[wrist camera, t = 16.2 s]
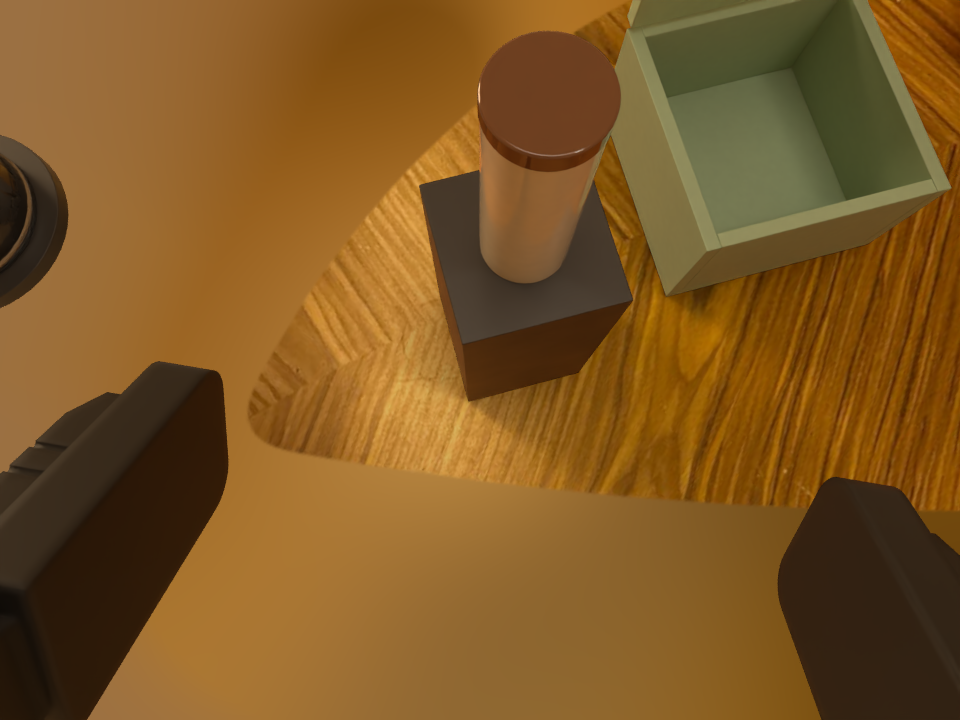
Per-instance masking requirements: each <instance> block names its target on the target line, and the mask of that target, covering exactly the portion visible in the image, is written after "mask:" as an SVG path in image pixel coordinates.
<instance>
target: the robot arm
mask: <svg viewBox="0 0 960 720" xmlns="http://www.w3.org/2000/svg"><path fill="white" fill-rule="evenodd" d="M36 215H37V204H36V197H35V193H34V190H33V187H32V185H31V182H30V181H29V179H28V177H27V176H26V174H25V173H24V172H23V171H22V170H21V169H20V168H19V167H18V166H17V165H16V164H15V163H14V162H12V161H11V160H10V159H8V158H7V157H5V156H4V155H2V154H1V153H0V274H1V273H2V272H4V271H5V270H6V269H7V268H9V267H10V266H11V265H12V264H13V263H14V262H15V261H16V259H17V258H18V257H19V256H20V255H21V253H22V252H23V250H24V249H25V247H26V246H27V244H28V242H29V240H30V238H31V235H32V233H33V230H34V226H35V222H36ZM227 474H228V448H227V434H226V421H225V405H224V392H223V382H222V379H221V376H220V374H219V373H218V372H217V371H214V370H208V369H202V368H196V367H190V366H184V365H178V364H172V363H166V362H160V361H158V362H155V363H153V364H151V365H150V366H149V367H148V368H147V369H146V370H145V371H144V372H143V373H142V374H141V375H140V376H139V377H138V378H137V379H136V380H135V381H134V382H133V383H132V384H131V385H130V386H129V387H128V388H127V389H126V390H125V391H124V392H123V393H122V394H115V393H109V392H107V393H105V394H103V395H101V396H99V397H97V398H95V399H93V400H91V401H89V402H87V403H85V404H83V405H81V406H79V407H77V408H75V409H73V410H71V411H69V412H67V413H65V414H64V415H63V416H62V417H61V418H60V419H59V420H58V421H57V422H55V423H54V424H53V425H52V426H51V427H50V428H49V429H48V430H47V431H46V432H45V433H44V434H43V435H42V436H41V437H39V438H38V439H37V440H36V444H35V446H34V447H29V448H27V449H26V450H25V451H24V452H23V453H22V454H21V455H20V456H19V457H18V458H17V459H16V460H15V461H14V462H12V463H11V464H10V468H9V471H8V472H4V471H3V472H2V473H1V474H0V720H87V719H88V717H89V716H90V714H91V712H92V711H93V709H94V707H95V706H96V704H97V703H98V701H99V699H100V697H101V696H102V694H103V693H104V691H105V689H106V688H107V686H108V684H109V683H110V681H111V680H112V678H113V676H114V675H115V673H116V671H117V670H118V668H119V667H120V665H121V663H122V662H123V660H124V658H125V657H126V655H127V653H128V652H129V650H130V648H131V647H132V645H133V644H134V642H135V640H136V639H137V637H138V636H139V634H140V632H141V631H142V629H143V627H144V626H145V624H146V622H147V621H148V619H149V618H150V616H151V614H152V613H153V611H154V609H155V608H156V606H157V604H158V603H159V601H160V600H161V598H162V596H163V595H164V593H165V591H166V590H167V588H168V586H169V585H170V583H171V582H172V580H173V578H174V577H175V575H176V573H177V572H178V570H179V568H180V567H181V565H182V564H183V562H184V560H185V559H186V557H187V555H188V554H189V552H190V550H191V549H192V547H193V545H194V544H195V542H196V541H197V539H198V537H199V536H200V534H201V533H202V531H203V529H204V528H205V526H206V524H207V523H208V521H209V519H210V518H211V516H212V515H213V513H214V511H215V509H216V508H217V506H218V504H219V502H220V500H221V496H222V494H223V491H224V488H225V484H226V480H227ZM778 595H779V601H780V605H781V608H782V611H783V614H784V617H785V619H786V622H787V625H788V628H789V630H790V633H791V636H792V639H793V642H794V644H795V647H796V650H797V653H798V655H799V658H800V661H801V664H802V666H803V669H804V672H805V675H806V678H807V681H808V683H809V686H810V689H811V692H812V694H813V697H814V700H815V703H816V706H817V708H818V711H819V714H820V717H821V719H822V720H960V555H958V554H957V553H956V552H955V551H954V550H953V549H952V548H951V547H950V546H949V545H947V544H946V543H945V542H944V541H943V540H942V539H941V538H940V537H939V536H937V535H936V534H933V533H930V531H929V530H928V528H927V527H926V526H925V524H924V523H923V521H922V519H921V518H920V516H919V515H918V514H917V512H916V510H915V509H914V508H913V506H912V505H911V503H910V502H909V500H908V499H907V497H906V496H905V495H904V493H903V492H902V491H901V490H899V489H898V488H896V487H892V486H886V485H880V484H874V483H868V482H863V481H857V480H851V479H845V478H839V477H832V478H830V479H828V480H827V481H825V482H824V484H823V485H822V486H821V488H820V489H819V491H818V493H817V494H816V496H815V498H814V500H813V502H812V504H811V506H810V508H809V509H808V511H807V513H806V515H805V517H804V519H803V521H802V522H801V524H800V526H799V528H798V530H797V532H796V534H795V536H794V537H793V539H792V541H791V543H790V545H789V547H788V549H787V550H786V552H785V554H784V556H783V559H782V561H781V564H780V568H779V574H778Z"/></svg>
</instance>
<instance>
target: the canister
mask: <svg viewBox="0 0 960 720" xmlns="http://www.w3.org/2000/svg"><path fill="white" fill-rule="evenodd" d="M620 105H621V90H620V84H619V80H618V77H617V75H616V72H615V70H614V68H613V66H612V65H611V63H610V61H609V60H608V59H607V58H606V56H605V55H604V54H603V53H602V52H601V51H600V50H599V49H598V48H596V47H595V46H594V45H592V44H591V43H589V42H588V41H586V40H584V39H582V38H580V37H577V36H575V35H572V34H568V33H564V32H558V31H538V32H533V33H528V34H525V35H521V36H519V37H517V38H514V39H512V40H511V41H509V42H507V43H506V44H505V45H503V46H502V47H501V48H499V49H498V51H496V52H495V53H494V55H492V57H491V58H490V59H489V61H488V62H487V64H486V66H485V67H484V69H483V71H482V74H481V77H480V80H479V85H478V118H479V241H480V249H481V253H482V256H483V258H484V260H485V262H486V263H487V265H488V266H489V267H490V268H491V269H492V271H494V272H495V273H496V274H497V275H499V276H500V277H502V278H504V279H506V280H508V281H512V282H516V283H534V282H538V281H541V280H544V279H546V278H548V277H549V276H551V275H553V274H554V273H555V272H556V271H557V270H558V269H559V268H560V267H561V265H562V264H563V262H564V260H565V258H566V256H567V253H568V250H569V248H570V245H571V242H572V239H573V236H574V233H575V231H576V228H577V225H578V222H579V219H580V216H581V214H582V211H583V208H584V205H585V202H586V199H587V197H588V194H589V191H590V188H591V185H592V182H593V180H594V177H595V174H596V171H597V168H598V165H599V163H600V160H601V157H602V154H603V151H604V148H605V145H606V143H607V141H608V140H609V138H610V136H611V134H612V131H613V129H614V126H615V123H616V120H617V117H618V114H619V111H620Z"/></svg>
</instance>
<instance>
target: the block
mask: <svg viewBox="0 0 960 720" xmlns="http://www.w3.org/2000/svg"><path fill="white" fill-rule="evenodd" d="M419 188H420V193H421V198H422V204H423V209H424V214H425V219H426V225H427V230H428V235H429V240H430V246H431V251H432V256H433V261H434V267H435V272H436V277H437V282H438V287H439V293H440V297H441V301H442V305H443V309H444V312H445V316H446V320H447V324H448V327H449V331H450V335H451V338H452V342H453V346H454V350H455V353H456V357H457V361H458V365H459V368H460V372H461V376H462V379H463V383H464V387H465V391H466V394H467V398H468V401H473V400H477V399H481V398H484V397H488V396H492V395H496V394H499V393H503V392H507V391H511V390H515V389H518V388H522V387H526V386H530V385H533V384H537V383H541V382H545V381H548V380H552V379H556V378H560V377H563V376H567V375H571V374H575V373H578V372H579V371H580V370H581V368H582V367H583V366H584V364H585V363H586V362H587V360H588V359H589V358H590V356H591V355H592V354H593V352H594V351H595V350H596V348H597V347H598V346H599V345H600V343H601V342H602V341H603V339H604V338H605V337H606V335H607V334H608V333H609V331H610V330H611V329H612V327H613V326H614V325H615V323H616V322H617V321H618V319H619V318H620V317H621V315H622V314H623V313H624V312H625V310H626V309H627V308H628V306H629V305H630V304H631V302H632V301H633V298H632V295H631V292H630V289H629V286H628V283H627V280H626V276H625V273H624V270H623V267H622V264H621V261H620V258H619V255H618V252H617V249H616V246H615V243H614V240H613V237H612V234H611V231H610V228H609V225H608V222H607V219H606V216H605V213H604V210H603V207H602V204H601V201H600V198H599V195H598V192H597V189H596V186H595V183H594V180H593V182H592V185H591V188H590V191H589V194H588V197H587V199H586V202H585V205H584V208H583V211H582V214H581V216H580V219H579V222H578V225H577V228H576V231H575V233H574V236H573V239H572V242H571V245H570V248H569V250H568V253H567V256H566V258H565V260H564V262H563V264H562V265H561V267H560V268H559V269H558V270H557V271H556V272H555V273H554V274H553V275H551V276H549V277H548V278H546V279H544V280H541V281H538V282H534V283H516V282H512V281H508V280H506V279H504V278H502V277H500V276H499V275H497V274H496V273H495V272H494V271H492V269H491V268H490V267H489V266H488V265H487V263H486V262H485V260H484V258H483V256H482V253H481V249H480V241H479V170H478V171H474V172H470V173H466V174H462V175H458V176H454V177H450V178H446V179H441V180H437V181H433V182H429V183H425V184H421V185H419Z"/></svg>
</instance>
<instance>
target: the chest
mask: <svg viewBox="0 0 960 720" xmlns="http://www.w3.org/2000/svg"><path fill="white" fill-rule="evenodd" d="M615 72H616V75H617V77H618V80H619V84H620V90H621V105H620V111H619V114H618V117H617V120H616V123H615V126H614V129H613V131H612V134H611V136H612V139H613V142H614V145H615V148H616V151H617V154H618V157H619V160H620V163H621V166H622V169H623V172H624V174H625V177H626V180H627V183H628V186H629V189H630V192H631V195H632V198H633V201H634V204H635V207H636V210H637V213H638V215H639V218H640V221H641V224H642V227H643V230H644V233H645V236H646V239H647V242H648V245H649V248H650V251H651V254H652V256H653V259H654V262H655V265H656V268H657V271H658V274H659V277H660V280H661V283H662V286H663V289H664V292H665V295H666V297H667V296H671V295H675V294H679V293H683V292H687V291H690V290H694V289H698V288H702V287H706V286H709V285H713V284H717V283H721V282H725V281H729V280H732V279H736V278H740V277H744V276H748V275H751V274H755V273H759V272H763V271H767V270H771V269H774V268H778V267H782V266H786V265H790V264H793V263H797V262H801V261H805V260H809V259H813V258H816V257H820V256H824V255H828V254H832V253H836V252H839V251H843V250H847V249H851V248H855V247H858V246H862V245H866V244H869V243H870V242H872V241H873V240H874V239H876V238H878V237H879V236H881V235H882V234H884V233H885V232H887V231H888V230H890V229H891V228H893V227H894V226H896V225H897V224H899V223H900V222H902V221H903V220H905V219H906V218H908V217H909V216H911V215H912V214H914V213H915V212H917V211H918V210H920V209H921V208H923V207H924V206H926V205H927V204H929V203H930V202H932V201H933V200H935V199H936V198H938V197H939V196H941V195H942V194H944V193H945V192H947V191H948V190H950V189H951V186H950V184H949V182H948V179H947V177H946V175H945V173H944V170H943V168H942V166H941V164H940V162H939V159H938V157H937V155H936V153H935V150H934V148H933V146H932V144H931V142H930V139H929V137H928V135H927V133H926V130H925V128H924V126H923V124H922V122H921V119H920V117H919V115H918V113H917V110H916V108H915V106H914V104H913V102H912V99H911V97H910V95H909V93H908V90H907V88H906V86H905V84H904V81H903V79H902V77H901V75H900V73H899V70H898V68H897V66H896V64H895V61H894V59H893V57H892V55H891V53H890V50H889V48H888V46H887V44H886V41H885V39H884V37H883V35H882V33H881V30H880V28H879V26H878V24H877V21H876V19H875V17H874V15H873V13H872V10H871V8H870V6H869V4H868V1H867V0H748V1H744V2H740V3H736V4H731V5H727V6H723V7H719V8H715V9H710V10H706V11H702V12H698V13H694V14H689V15H685V16H681V17H677V18H673V19H668V20H664V21H660V22H656V23H652V24H647V25H643V26H639V27H635V28H629V29H627V31H626V35H625V38H624V41H623V44H622V47H621V51H620V54H619V57H618V60H617V63H616V67H615Z"/></svg>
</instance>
